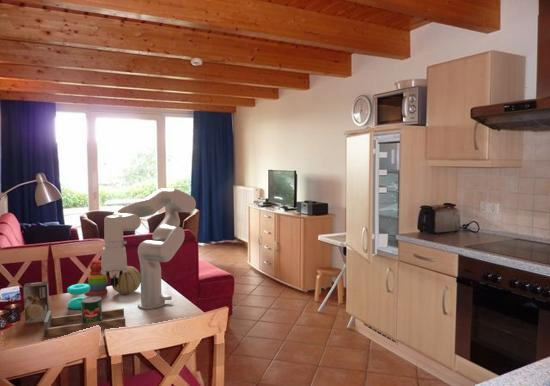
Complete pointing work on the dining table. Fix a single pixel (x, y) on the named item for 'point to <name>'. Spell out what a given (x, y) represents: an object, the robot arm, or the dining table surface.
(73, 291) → the donuts
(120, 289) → the cantaloupe
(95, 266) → the stacking bear
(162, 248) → the robot arm
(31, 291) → the coffee box
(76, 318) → the bay
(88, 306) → the canned tomato
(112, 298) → the dining table surface
